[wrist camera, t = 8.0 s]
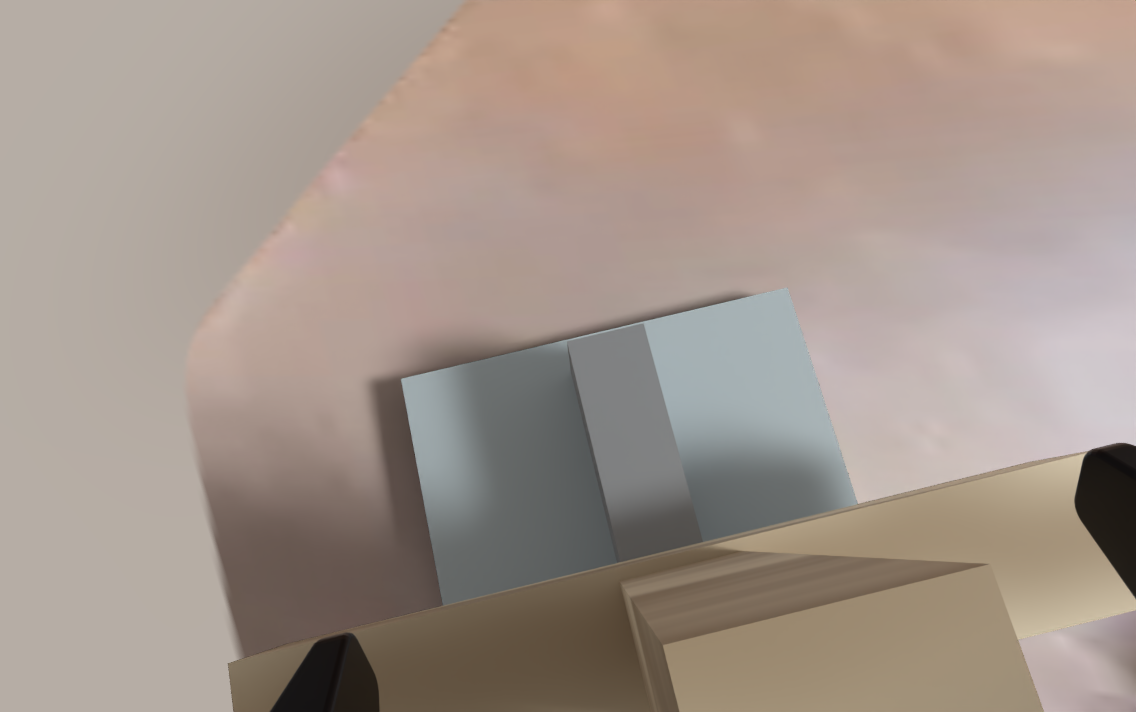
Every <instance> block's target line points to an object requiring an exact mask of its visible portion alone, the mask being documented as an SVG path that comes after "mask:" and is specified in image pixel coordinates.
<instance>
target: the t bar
mask: <svg viewBox="0 0 1136 712" xmlns="http://www.w3.org/2000/svg"><path fill="white" fill-rule="evenodd" d="M1087 452H1088V451H1086V452H1081V453H1076V454H1070V455H1065V456H1059V457H1054V458H1049V459H1043V460H1038V461H1032V462H1028V463H1024V464H1019V465H1015V466H1011V467H1007V468H1003V469H999V470H995V471H991V472H987V473H983V474H979V475H975V476H970V477H966V478H962V479H958V480H954V481H950V482H946V483H942V484H938V485H934V486H930V487H926V488H921V489H917V490H913V491H909V492H905V493H901V494H897V495H893V496H889V497H885V498H881V499H877V500H872V501H868V502H864V503H860V504H856V505H852V506H848V507H844V508H840V509H836V510H832V511H828V512H823V513H819V514H815V515H811V516H807V517H803V518H799V519H795V520H791V521H787V522H783V523H779V524H774V525H770V526H766V527H762V528H758V529H754V530H750V531H746V532H742V533H738V534H734V535H730V536H725V537H721V538H717V539H713V540H709V541H705V542H701V543H697V544H693V545H689V546H685V547H681V548H676V549H672V550H668V551H664V552H660V553H656V554H652V555H648V556H644V557H640V558H636V559H632V560H627V561H623V562H619V563H615V564H611V565H607V566H603V567H599V568H595V569H591V570H587V571H583V572H578V573H574V574H570V575H566V576H562V577H558V578H554V579H550V580H546V581H542V582H538V583H534V584H529V585H525V586H521V587H517V588H513V589H509V590H505V591H501V592H497V593H493V594H489V595H485V596H480V597H476V598H472V599H468V600H464V601H460V602H456V603H452V604H448V605H444V606H440V607H436V608H431V609H427V610H423V611H419V612H415V613H411V614H407V615H403V616H399V617H395V618H391V619H387V620H382V621H378V622H374V623H370V624H366V625H362V626H358V627H354V628H350V629H346V630H342V631H338V632H333V633H329V634H325V635H321V636H317V637H313V638H309V639H305V640H301V641H297V642H293V643H289V644H286V645H282V646H279V647H276V648H273V649H270V650H267V651H264V652H261V653H258V654H255V655H252V656H249V657H246V658H243V659H240V660H237V661H234V662H231V663H228V668H229V676H230V685H231V694H232V702H233V711H234V712H270V710H271V709H272V707H273V706H274V704H275V703H276V701H277V700H278V698H279V697H280V695H281V693H282V692H283V690H284V689H285V687H286V686H287V684H288V683H289V681H290V680H291V678H292V676H293V675H294V673H295V672H296V670H297V669H298V667H299V666H300V664H301V663H302V661H303V659H304V658H305V656H306V655H307V653H308V652H309V650H310V649H311V647H312V646H313V644H314V643H315V642H317V641H318V640H319V639H321V638H324V637H329V636H333V635H337V634H341V633H345V632H350V633H352V634H354V635H355V636H356V638H357V639H358V641H359V643H360V645H361V647H362V649H363V651H364V653H365V655H366V657H367V659H368V661H369V663H370V665H371V667H372V669H373V671H374V673H375V675H376V678H377V683H378V689H379V706H380V712H1044V710H1043V708H1042V705H1041V702H1040V699H1039V697H1038V694H1037V691H1036V688H1035V686H1034V683H1033V680H1032V677H1031V675H1030V672H1029V669H1028V666H1027V663H1026V661H1025V658H1024V655H1023V652H1022V650H1021V647H1020V644H1019V641H1018V640H1019V639H1023V638H1027V637H1031V636H1035V635H1039V634H1043V633H1047V632H1051V631H1055V630H1059V629H1063V628H1067V627H1071V626H1075V625H1079V624H1083V623H1087V622H1091V621H1095V620H1099V619H1103V618H1107V617H1111V616H1115V615H1119V614H1123V613H1126V612H1130V611H1134V610H1136V599H1135V598H1134V596H1133V595H1132V593H1131V592H1130V590H1129V589H1128V588H1127V586H1126V585H1125V583H1124V582H1123V580H1122V579H1121V578H1120V576H1119V575H1118V573H1117V572H1116V570H1115V569H1114V568H1113V566H1112V565H1111V563H1110V562H1109V560H1108V559H1107V558H1106V556H1105V555H1104V553H1103V552H1102V551H1101V549H1100V548H1099V546H1098V545H1097V543H1096V542H1095V541H1094V539H1093V538H1092V536H1091V535H1090V533H1089V532H1088V531H1087V529H1086V528H1085V526H1084V525H1083V523H1082V522H1081V520H1080V519H1079V517H1078V515H1077V512H1076V509H1075V504H1074V497H1075V492H1076V488H1077V483H1078V479H1079V474H1080V470H1081V465H1082V461H1083V458H1084V456H1085V454H1086V453H1087Z"/></svg>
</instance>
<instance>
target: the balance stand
mask: <svg viewBox="0 0 1136 712" xmlns="http://www.w3.org/2000/svg"><path fill="white" fill-rule="evenodd" d="M401 382H402V387H403V393H404V398H405V403H406V409H407V414H408V420H409V425H410V431H411V436H412V441H413V447H414V452H415V458H416V463H417V468H418V474H419V479H420V485H421V490H422V495H423V501H424V506H425V512H426V517H427V523H428V528H429V533H430V539H431V544H432V550H433V555H434V560H435V566H436V571H437V577H438V582H439V587H440V593H441V598H442V604H443V606H444V605H448V604H452V603H456V602H460V601H464V600H468V599H472V598H476V597H480V596H485V595H489V594H493V593H497V592H501V591H505V590H509V589H513V588H517V587H521V586H525V585H529V584H534V583H538V582H542V581H546V580H550V579H554V578H558V577H562V576H566V575H570V574H574V573H578V572H583V571H587V570H591V569H595V568H599V567H603V566H607V565H611V564H615V563H619V562H623V561H627V560H632V559H636V558H640V557H644V556H648V555H652V554H656V553H660V552H664V551H668V550H672V549H676V548H681V547H685V546H689V545H693V544H697V543H701V542H705V541H709V540H713V539H717V538H721V537H725V536H730V535H734V534H738V533H742V532H746V531H750V530H754V529H758V528H762V527H766V526H770V525H774V524H779V523H783V522H787V521H791V520H795V519H799V518H803V517H807V516H811V515H815V514H819V513H823V512H828V511H832V510H836V509H840V508H844V507H848V506H852V505H856V504H858V503H857V500H856V497H855V493H854V490H853V487H852V484H851V481H850V478H849V475H848V472H847V469H846V466H845V463H844V460H843V457H842V454H841V451H840V447H839V444H838V441H837V438H836V435H835V432H834V429H833V426H832V423H831V420H830V417H829V414H828V411H827V408H826V404H825V401H824V398H823V395H822V392H821V389H820V386H819V383H818V380H817V377H816V374H815V371H814V368H813V365H812V362H811V358H810V355H809V352H808V349H807V346H806V343H805V340H804V337H803V334H802V331H801V328H800V325H799V322H798V319H797V316H796V312H795V309H794V306H793V303H792V300H791V297H790V294H789V291H788V288H783V289H779V290H775V291H771V292H766V293H762V294H758V295H754V296H749V297H745V298H741V299H737V300H733V301H728V302H724V303H720V304H716V305H711V306H707V307H703V308H699V309H694V310H690V311H686V312H682V313H678V314H673V315H669V316H665V317H661V318H656V319H652V320H648V321H644V322H639V323H635V324H631V325H627V326H622V327H618V328H614V329H610V330H606V331H601V332H597V333H593V334H589V335H584V336H580V337H576V338H572V339H567V340H563V341H559V342H555V343H551V344H546V345H542V346H538V347H534V348H529V349H525V350H521V351H517V352H512V353H508V354H504V355H500V356H495V357H491V358H487V359H483V360H479V361H474V362H470V363H466V364H462V365H457V366H453V367H449V368H445V369H440V370H436V371H432V372H428V373H424V374H419V375H415V376H411V377H407V378H402V379H401Z"/></svg>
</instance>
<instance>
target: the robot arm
mask: <svg viewBox="0 0 1136 712" xmlns="http://www.w3.org/2000/svg"><path fill="white" fill-rule="evenodd" d="M1074 504H1075V509H1076V512H1077V515H1078V517H1079V519H1080V520H1081V522H1082V523H1083V525H1084V526H1085V528H1086V529H1087V531H1088V532H1089V533H1090V535H1091V536H1092V538H1093V539H1094V541H1095V542H1096V543H1097V545H1098V546H1099V548H1100V549H1101V551H1102V552H1103V553H1104V555H1105V556H1106V558H1107V559H1108V560H1109V562H1110V563H1111V565H1112V566H1113V568H1114V569H1115V570H1116V572H1117V573H1118V575H1119V576H1120V578H1121V579H1122V580H1123V582H1124V583H1125V585H1126V586H1127V588H1128V589H1129V590H1130V592H1131V593H1132V595H1133V596H1134V598H1135V599H1136V446H1134V445H1131V444H1127V443H1116V444H1111V445H1107V446H1103V447H1099V448H1095V449H1092V450H1090V451H1088V452H1087V453H1086V454H1085V456H1084V458H1083V461H1082V465H1081V470H1080V474H1079V479H1078V483H1077V488H1076V492H1075V497H1074ZM270 712H380V706H379V689H378V683H377V678H376V675H375V673H374V671H373V669H372V667H371V665H370V663H369V661H368V659H367V657H366V655H365V653H364V651H363V649H362V647H361V645H360V643H359V641H358V639H357V638H356V636H355V635H354V634H352V633H350V632H345V633H341V634H337V635H333V636H329V637H324V638H321V639H319V640H318V641H317V642H315V643H314V644H313V646H312V647H311V649H310V650H309V652H308V653H307V655H306V656H305V658H304V659H303V661H302V663H301V664H300V666H299V667H298V669H297V670H296V672H295V673H294V675H293V676H292V678H291V680H290V681H289V683H288V684H287V686H286V687H285V689H284V690H283V692H282V693H281V695H280V697H279V698H278V700H277V701H276V703H275V704H274V706H273V707H272V709H271V710H270Z"/></svg>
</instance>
